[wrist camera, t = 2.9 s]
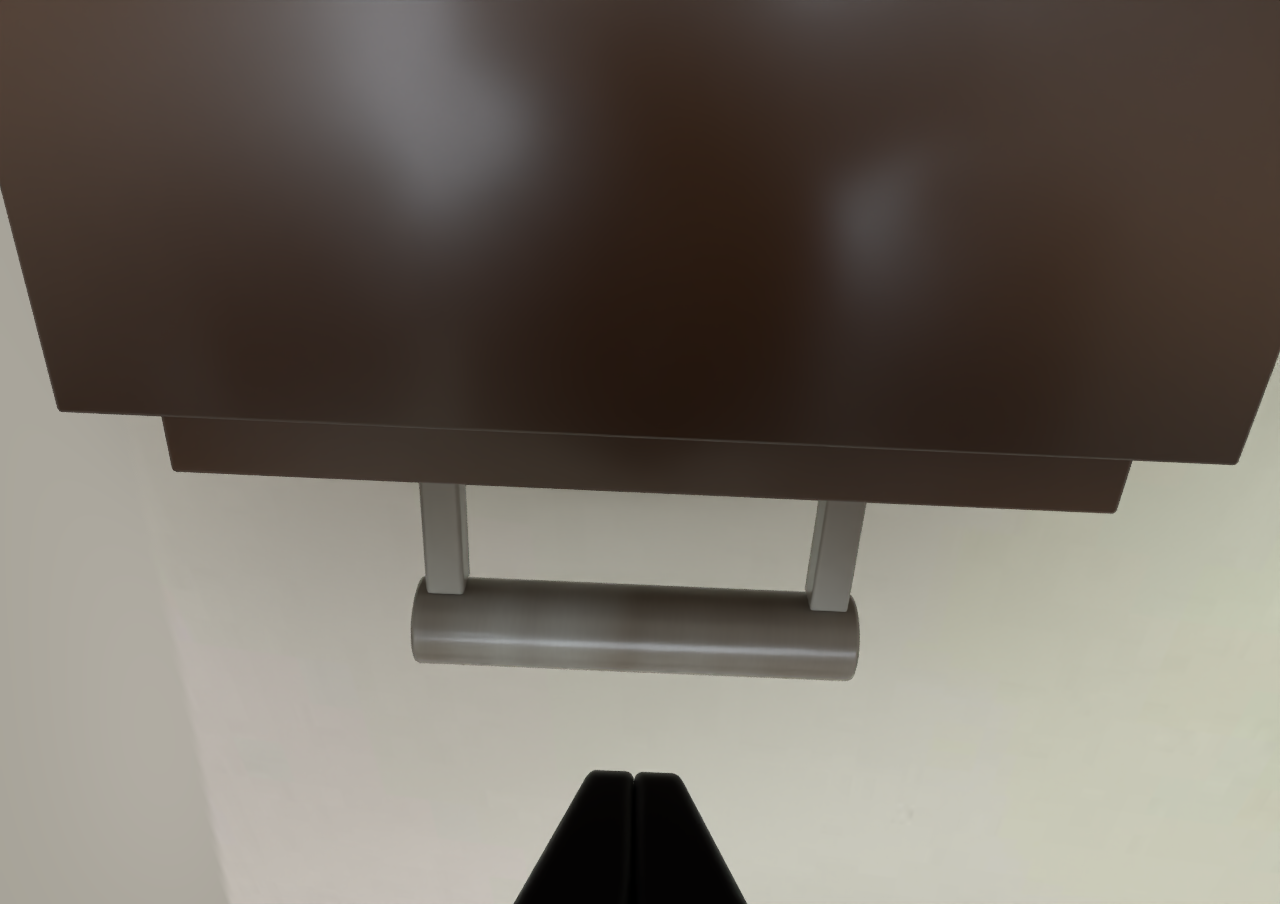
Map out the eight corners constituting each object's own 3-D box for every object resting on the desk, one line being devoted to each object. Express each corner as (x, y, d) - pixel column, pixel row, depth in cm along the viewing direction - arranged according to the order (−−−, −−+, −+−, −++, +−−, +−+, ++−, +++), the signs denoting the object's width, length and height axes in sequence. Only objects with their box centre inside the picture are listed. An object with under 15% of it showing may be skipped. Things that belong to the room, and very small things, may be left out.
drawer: (915, 536, 20) (1027, 795, 14) (357, 511, 20) (230, 762, 14) (1188, -766, 12) (1770, -1523, 6) (216, -822, 11) (-268, -1659, 5)
